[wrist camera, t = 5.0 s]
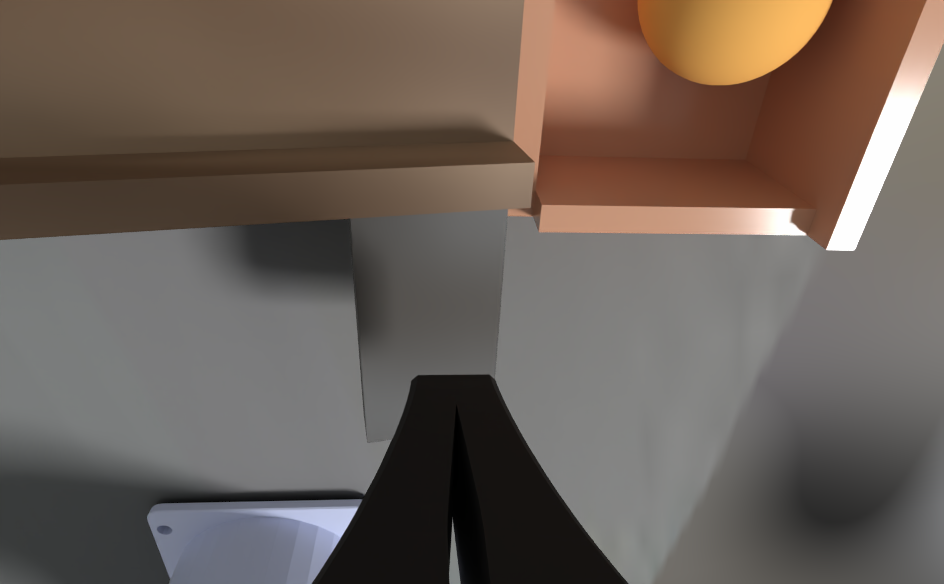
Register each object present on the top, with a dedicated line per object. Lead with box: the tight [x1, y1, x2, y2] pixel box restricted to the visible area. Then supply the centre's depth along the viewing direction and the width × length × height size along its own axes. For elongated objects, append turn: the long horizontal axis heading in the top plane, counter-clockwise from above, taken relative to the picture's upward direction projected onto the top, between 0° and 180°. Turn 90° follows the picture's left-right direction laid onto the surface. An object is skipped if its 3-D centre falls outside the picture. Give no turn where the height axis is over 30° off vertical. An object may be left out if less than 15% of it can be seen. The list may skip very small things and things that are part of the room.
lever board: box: [0, 0, 535, 443], centre depth 9 cm, size 13×14×2 cm
